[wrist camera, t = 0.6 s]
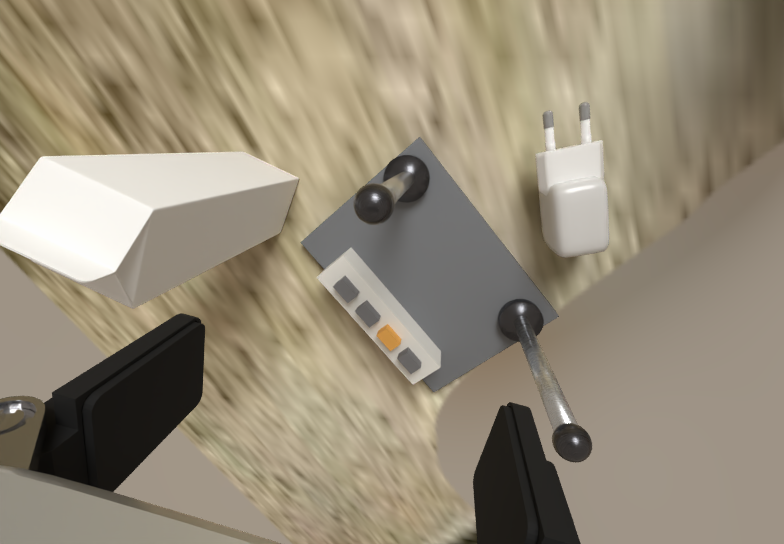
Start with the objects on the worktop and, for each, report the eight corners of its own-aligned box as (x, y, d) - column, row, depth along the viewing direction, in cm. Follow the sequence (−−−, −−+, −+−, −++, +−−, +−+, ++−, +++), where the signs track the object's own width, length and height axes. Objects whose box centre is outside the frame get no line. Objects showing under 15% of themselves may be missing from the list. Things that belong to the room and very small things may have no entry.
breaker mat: (420, 137, 33) (415, 135, 28) (556, 312, 36) (572, 336, 31) (304, 240, 37) (283, 253, 33) (434, 386, 41) (432, 418, 36)
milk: (243, 151, 35) (-45, 152, 15) (301, 178, 35) (94, 218, 15) (227, 208, 37) (-46, 281, 17) (281, 234, 38) (76, 338, 17)
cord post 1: (410, 144, 32) (374, 142, 16) (439, 181, 33) (431, 214, 17) (376, 175, 33) (311, 201, 17) (404, 209, 34) (366, 265, 18)
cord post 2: (525, 290, 35) (591, 412, 19) (549, 322, 35) (633, 465, 19) (489, 314, 36) (523, 447, 20) (513, 343, 37) (565, 495, 21)
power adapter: (522, 117, 31) (539, 111, 26) (584, 103, 30) (615, 93, 25) (535, 244, 34) (552, 263, 29) (592, 235, 33) (620, 253, 28)
